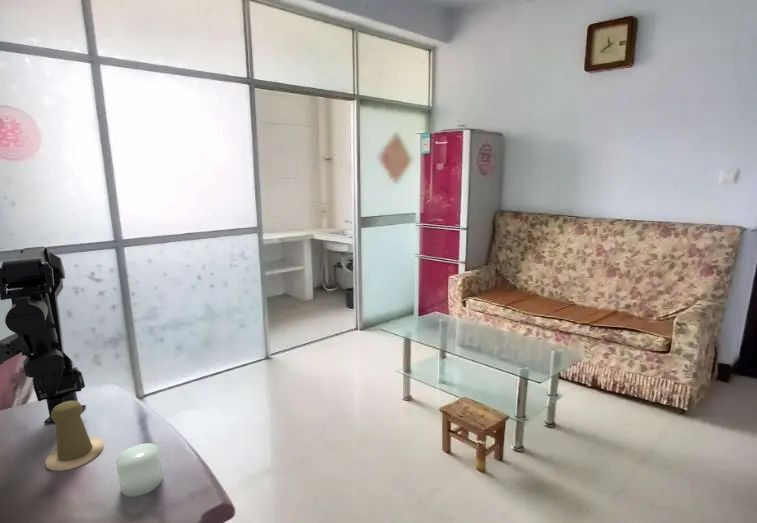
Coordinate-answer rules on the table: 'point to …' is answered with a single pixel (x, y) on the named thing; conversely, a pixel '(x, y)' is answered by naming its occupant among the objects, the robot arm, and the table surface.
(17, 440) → the table surface
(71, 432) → the pepper shaker
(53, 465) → the trivet
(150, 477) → the pale mint rounded cylinder
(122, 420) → the table surface
